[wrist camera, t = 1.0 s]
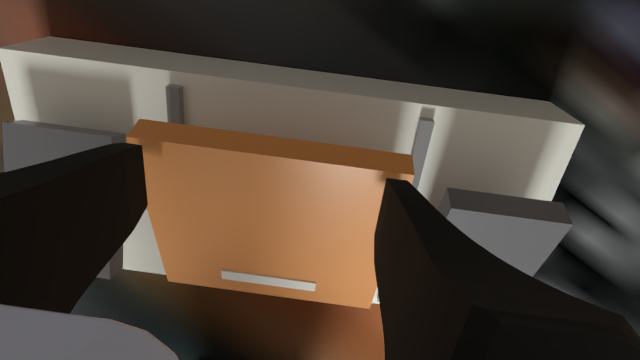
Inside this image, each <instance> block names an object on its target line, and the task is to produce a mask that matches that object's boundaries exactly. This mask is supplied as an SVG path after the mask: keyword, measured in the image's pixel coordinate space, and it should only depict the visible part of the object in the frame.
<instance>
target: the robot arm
mask: <svg viewBox="0 0 640 360" xmlns="http://www.w3.org/2000/svg"><path fill="white" fill-rule="evenodd" d="M147 206H148V200H147V190H146V180H145V170H144V160H143V150H142V145H137V144H130V143H122V142H121V143H113V144H108V145H104V146H100V147H96V148H93V149H89V150H85V151H82V152H78V153H75V154H71V155H68V156H64V157H61V158H57V159H54V160H50V161H47V162H43V163H39V164H35V165H31V166H27V167H23V168H20V169H16V170H12V171H7V172H3V173H0V360H179V359H178V357H177V356H176V354H175V353H174V352H173V351H172V350H171V349H169V348H168V347H167V346H166V345H164V344H163V343H162V342H160V341H159V340H158V339H157V338H155V337H154V336H153V335H152V334H150V333H149V332H148V331H145V330H142V329H139V328H136V327H133V326H130V325H127V324H124V323H120V322H117V321H114V320H111V319H104V318H96V317H89V316H82V315H75V314H70V312H71V311H72V309H73V308H74V306H75V305H76V303H77V301H78V300H79V299H80V297H81V296H82V295H83V293H84V292H85V291H86V289H87V288H88V287H89V285H90V284H91V283H92V282H93V280H94V279H95V278H96V277H97V275H98V274H99V273H100V272H101V271H102V269H103V268H104V267H105V266H106V264H107V263H108V262H109V261H110V259H111V258H112V257H113V256H114V255H115V253H116V252H117V251H118V250H119V248H120V247H121V246H122V245H123V243H124V242H125V241H126V240H127V238H128V237H129V236H130V234H131V233H132V232H133V230H134V229H135V227H136V225H137V224H138V222H139V220H140V219H141V217H142V215H143V213H144V211H145V209H146V208H147ZM374 266H375V274H376V281H377V289H378V296H379V303H380V310H381V317H382V324H383V332H384V344H385V360H640V337H639V336H638V334H637V333H636V332H635V330H634V329H633V328H632V327H631V325H630V324H629V323H628V321H627V320H626V319H625V317H623V316H621V315H619V314H616V313H614V312H611V311H609V310H606V309H604V308H601V307H598V306H596V305H593V304H591V303H588V302H586V301H583V300H581V299H578V298H576V297H573V296H571V295H569V294H566V293H564V292H562V291H560V290H558V289H556V288H554V287H552V286H549V285H547V284H545V283H543V282H541V281H539V280H537V279H535V278H533V277H531V276H529V275H527V274H526V273H524V272H522V271H520V270H519V269H517V268H515V267H513V266H512V265H510V264H508V263H506V262H505V261H503V260H501V259H500V258H498V257H497V256H495V255H493V254H492V253H490V252H489V251H487V250H486V249H485V248H483V247H482V246H480V245H479V244H478V243H476V242H475V241H473V240H472V239H471V238H469V237H468V236H467V235H465V234H464V233H463V232H462V231H461V230H459V229H458V228H457V227H456V226H455V225H453V224H452V223H451V222H450V221H449V220H448V219H447V218H445V217H444V216H443V215H442V214H441V213H440V212H439V211H438V210H437V209H436V208H435V207H434V206H433V205H432V204H431V203H430V202H429V201H428V200H427V199H426V198H425V197H424V196H423V195H422V194H421V193H420V192H419V191H418V190H417V189H416V188H415V187H414V186H413V185H412V184H411V183H410V182H409V181H407V180H399V179H392V178H386V183H385V187H384V192H383V196H382V201H381V206H380V210H379V215H378V220H377V224H376V229H375V234H374Z"/></svg>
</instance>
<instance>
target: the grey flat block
mask: <svg viewBox="0 0 640 360" xmlns="http://www.w3.org/2000/svg"><path fill="white" fill-rule="evenodd" d="M438 211H439V212H440V213H441V214H442V215H443V216H444V217H445V218H447V219H448V220H449V221H450V222H451V223H452V224H453V225H455V226H456V227H457V228H458V229H459V230H461V231H462V232H463V233H464V234H465V235H467V236H468V237H469V238H471V239H472V240H473V241H475V242H476V243H478V244H479V245H480V246H482V247H483V248H485V249H486V250H487V251H489V252H490V253H492V254H493V255H495V256H497V257H498V258H500V259H501V260H503V261H505V262H506V263H508V264H510V265H512V266H513V267H515V268H517V269H519V270H520V271H522V272H524V273H526V274H527V275H529V276H531V277H533V275H534V274H535V273H536V271H537V270H538V269H539V268H540V266H541V265H542V264H543V263H544V261H545V260H546V259H547V257H548V256H549V255H550V254H551V252H552V251H553V250H554V249H555V247H556V246H557V245H558V243H559V242H560V241H561V240H562V238H563V237H564V236H565V234H566V233H567V232H568V231H569V229H570V228H571V227H572V226H573V223H572V221H571V219H570V217H569V215H568V213H567V211H566V209H565V207H564V205H563V203H560V202H552V201H545V200H538V199H530V198H523V197H515V196H508V195H500V194H493V193H485V192H478V191H470V190H463V189H455V188H448V187H447V189H446V191H445V193H444V196H443V198H442V201H441V203H440V205H439V208H438Z"/></svg>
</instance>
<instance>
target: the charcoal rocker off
mask: <svg viewBox="0 0 640 360" xmlns="http://www.w3.org/2000/svg"><path fill="white" fill-rule="evenodd" d="M2 130H3V153H4V172H7V171H12V170H16V169H20V168H23V167H27V166H31V165H35V164H39V163H43V162H47V161H50V160H54V159H57V158H61V157H64V156H68V155H71V154H75V153H78V152H82V151H85V150H89V149H93V148H96V147H100V146H104V145H108V144H113V143H121V142H122V143H126V134H125V133H117V132H110V131H102V130H95V129H87V128H80V127H72V126H65V125H57V124H50V123H42V122H35V121H27V120H17V121H7V122H2ZM122 268H123V245H122V246H121V247H120V248H119V250H118V251H117V252H116V253H115V255H114V256H113V257H112V258H111V259H110V261H109V262H108V263H107V264H106V266H105V267H104V268H103V269H102V271H101V272H100V273H99V274H98V275H97V277H98V278H105V279H110V278H112V277H113V276H114V275H115V274H116V273H118V272H119V271H120V270H121V269H122Z"/></svg>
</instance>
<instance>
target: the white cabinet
mask: <svg viewBox="0 0 640 360" xmlns="http://www.w3.org/2000/svg"><path fill="white" fill-rule="evenodd" d="M0 61H1V65H2V69H3V73H4V77H5V81H6V85H7V89H8V93H9V97H10V101H11V105H12V109H13V113H14V117H15V121H17V120H27V121H35V122H42V123H50V124H57V125H65V126H72V127H80V128H87V129H95V130H102V131H110V132H117V133H125V134H126V136H127V135H128V133H129V132H130V131H131V129H132V128H133V127H134V125H135V124H136V123H137V121H138V120H139V119H146V120H154V121H161V122H169V123H176V124H184V125H191V126H199V127H206V128H214V129H221V130H229V131H236V132H244V133H252V134H259V135H267V136H274V137H282V138H289V139H297V140H304V141H312V142H319V143H327V144H334V145H342V146H349V147H357V148H364V149H372V150H380V151H387V152H395V153H402V154H410V155H412V156H413V165H414V174H415V176H414V179H413V182H412V185H413V186H414V187H415V188H416V189H417V190H418V191H419V192H420V193H421V194H422V195H423V196H424V197H425V198H426V199H427V200H428V201H429V202H430V203H431V204H432V205H433V206H434V207H435V208H436V209H437V210H438V208H439V205H440V203H441V201H442V198H443V196H444V193H445V191H446V189H447V187H448V188H455V189H463V190H470V191H478V192H485V193H493V194H500V195H508V196H515V197H523V198H530V199H538V200H545V201H552V199H553V196H554V194H555V192H556V189H557V187H558V185H559V183H560V180H561V178H562V176H563V174H564V171H565V169H566V167H567V165H568V162H569V160H570V158H571V156H572V153H573V151H574V149H575V146H576V144H577V142H578V140H579V137H580V135H581V133H582V131H583V128H584V126H585V125H584V124H582V123H581V122H579V121H578V120H576V119H575V118H573V117H572V116H570V115H569V114H567V113H566V112H564V111H563V110H561V109H560V108H558V107H557V106H556V105H554V104H553V103H551V102H548V101H541V100H533V99H526V98H518V97H510V96H503V95H495V94H487V93H480V92H472V91H464V90H457V89H449V88H442V87H434V86H426V85H419V84H411V83H403V82H396V81H388V80H380V79H373V78H365V77H358V76H350V75H342V74H335V73H327V72H319V71H312V70H304V69H296V68H289V67H281V66H274V65H266V64H258V63H251V62H243V61H235V60H228V59H220V58H212V57H205V56H197V55H190V54H182V53H174V52H167V51H159V50H151V49H144V48H136V47H128V46H121V45H113V44H106V43H98V42H90V41H83V40H75V39H67V38H60V37H52V36H49V37H44V38H40V39H35V40H31V41H26V42H22V43H17V44H13V45H8V46H4V47H0ZM126 143H128V142H127V139H126ZM122 269H128V270H135V271H142V272H149V273H157V274H164V275H166V272H165V269H164V266H163V262H162V259H161V255H160V252H159V248H158V245H157V242H156V238H155V235H154V231H153V228H152V224H151V221H150V218H149V214H148V211H147V208H146V209H145V211H144V213H143V215H142V217H141V219H140V220H139V222H138V224H137V225H136V227H135V229H134V230H133V232H132V233H131V234H130V236H129V237H128V238H127V240H126V241H125V242H124V243H123V268H122ZM372 303H376V304H380V303H379V296H378V289H377V288H376V291H375V294H374V297H373V300H372Z"/></svg>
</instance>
